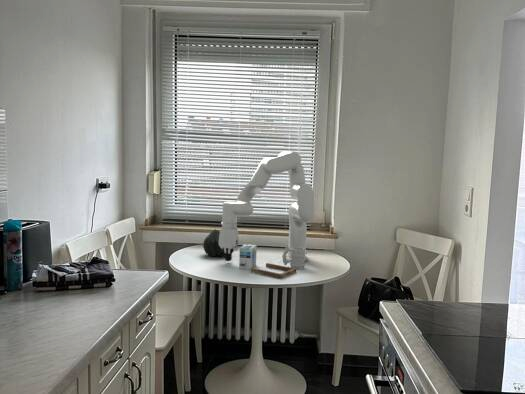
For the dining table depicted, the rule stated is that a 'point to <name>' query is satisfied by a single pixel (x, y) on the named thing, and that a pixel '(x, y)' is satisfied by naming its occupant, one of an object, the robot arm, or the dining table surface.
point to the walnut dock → (272, 274)
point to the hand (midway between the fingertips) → (228, 260)
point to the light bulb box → (247, 256)
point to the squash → (213, 244)
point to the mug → (294, 257)
